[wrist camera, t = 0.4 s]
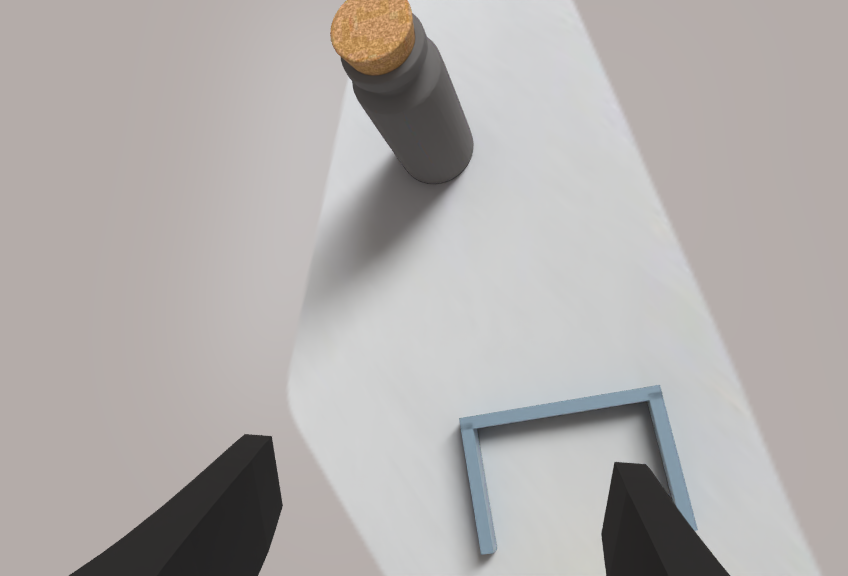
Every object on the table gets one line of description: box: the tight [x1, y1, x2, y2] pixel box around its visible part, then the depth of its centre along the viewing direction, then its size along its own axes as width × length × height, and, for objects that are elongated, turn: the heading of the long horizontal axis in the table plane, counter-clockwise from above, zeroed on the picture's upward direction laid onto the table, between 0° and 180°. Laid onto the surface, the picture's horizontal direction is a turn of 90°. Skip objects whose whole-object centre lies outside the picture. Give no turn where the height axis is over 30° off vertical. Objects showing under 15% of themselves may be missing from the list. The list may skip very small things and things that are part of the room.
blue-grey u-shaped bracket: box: [459, 385, 698, 554], centre depth 36 cm, size 8×13×2 cm, turn 99°
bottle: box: [330, 0, 473, 184], centre depth 38 cm, size 6×6×15 cm
